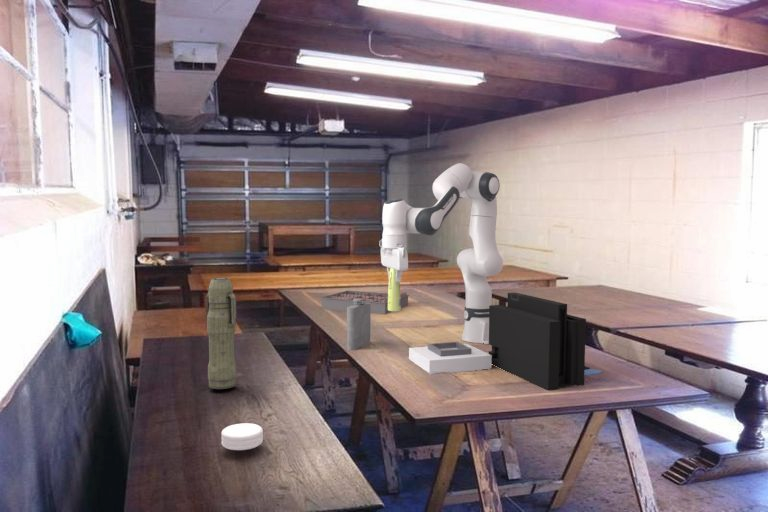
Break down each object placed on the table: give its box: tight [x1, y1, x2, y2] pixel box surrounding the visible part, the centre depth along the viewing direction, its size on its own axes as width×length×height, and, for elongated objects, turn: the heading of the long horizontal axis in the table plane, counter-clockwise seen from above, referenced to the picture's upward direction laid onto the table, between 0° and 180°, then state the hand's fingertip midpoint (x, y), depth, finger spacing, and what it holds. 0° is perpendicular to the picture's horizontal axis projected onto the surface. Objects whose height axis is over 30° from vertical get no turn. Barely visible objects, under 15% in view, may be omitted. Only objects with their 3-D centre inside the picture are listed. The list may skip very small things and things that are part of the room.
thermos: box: [205, 276, 237, 390], centre depth 204 cm, size 9×12×35 cm
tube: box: [387, 268, 402, 312], centre depth 233 cm, size 6×5×20 cm
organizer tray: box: [320, 290, 410, 315], centre depth 349 cm, size 32×40×10 cm
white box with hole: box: [408, 341, 492, 376], centre depth 231 cm, size 24×20×7 cm
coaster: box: [220, 422, 264, 451], centre depth 156 cm, size 10×10×4 cm
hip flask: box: [346, 299, 371, 351], centre depth 259 cm, size 16×4×20 cm, turn 152°
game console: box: [488, 292, 603, 391], centre depth 222 cm, size 35×30×27 cm
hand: (394, 280), depth 233 cm, fingers closed on tube, 6 cm apart
